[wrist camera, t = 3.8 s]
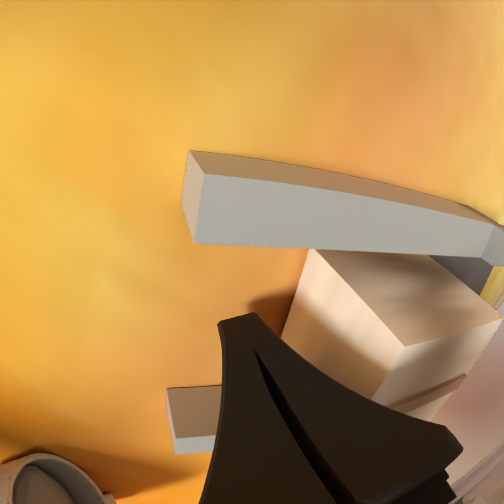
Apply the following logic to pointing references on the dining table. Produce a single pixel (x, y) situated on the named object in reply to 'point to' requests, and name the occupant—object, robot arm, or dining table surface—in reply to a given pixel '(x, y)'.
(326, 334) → the block
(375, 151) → the dining table surface
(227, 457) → the robot arm
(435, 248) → the chute
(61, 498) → the ceramic mug
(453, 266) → the mat
